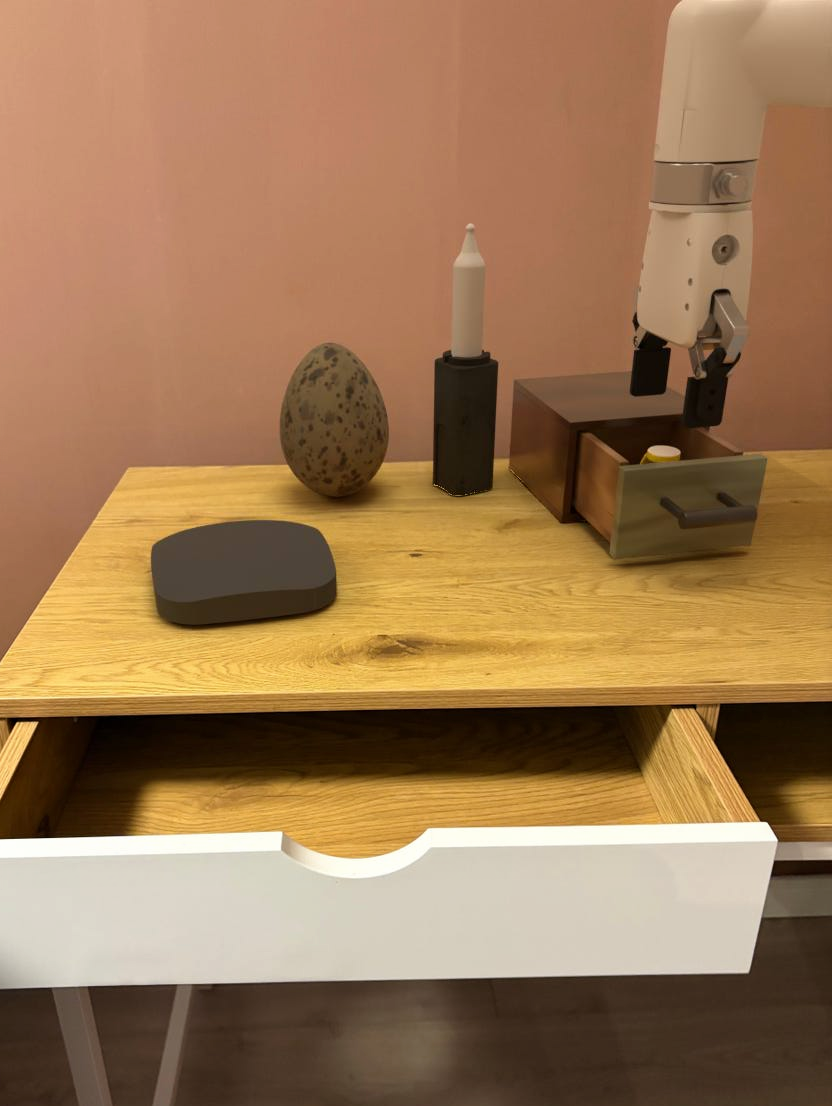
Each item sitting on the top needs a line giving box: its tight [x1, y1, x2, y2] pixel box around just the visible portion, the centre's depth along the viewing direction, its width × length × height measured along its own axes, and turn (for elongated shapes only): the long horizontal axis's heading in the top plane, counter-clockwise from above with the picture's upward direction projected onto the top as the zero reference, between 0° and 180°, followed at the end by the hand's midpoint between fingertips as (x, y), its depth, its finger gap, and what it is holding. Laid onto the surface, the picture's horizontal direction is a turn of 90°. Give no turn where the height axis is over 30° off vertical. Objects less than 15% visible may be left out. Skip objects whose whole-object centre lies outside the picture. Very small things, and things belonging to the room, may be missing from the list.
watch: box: [640, 446, 681, 464], centre depth 86 cm, size 6×3×6 cm, turn 9°
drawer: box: [571, 422, 769, 560], centre depth 84 cm, size 19×12×8 cm, turn 10°
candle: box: [432, 223, 499, 495], centre depth 94 cm, size 5×5×25 cm
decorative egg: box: [279, 342, 390, 497], centre depth 95 cm, size 11×11×15 cm
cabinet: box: [508, 370, 711, 524], centre depth 96 cm, size 16×14×10 cm
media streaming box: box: [150, 519, 338, 626], centre depth 80 cm, size 15×15×3 cm
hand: (672, 409), depth 82 cm, fingers open, 9 cm apart
